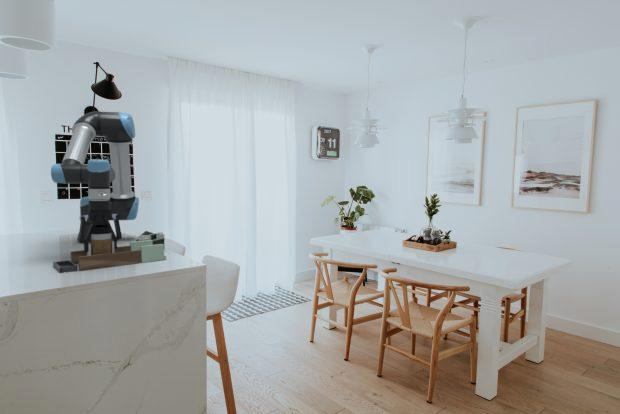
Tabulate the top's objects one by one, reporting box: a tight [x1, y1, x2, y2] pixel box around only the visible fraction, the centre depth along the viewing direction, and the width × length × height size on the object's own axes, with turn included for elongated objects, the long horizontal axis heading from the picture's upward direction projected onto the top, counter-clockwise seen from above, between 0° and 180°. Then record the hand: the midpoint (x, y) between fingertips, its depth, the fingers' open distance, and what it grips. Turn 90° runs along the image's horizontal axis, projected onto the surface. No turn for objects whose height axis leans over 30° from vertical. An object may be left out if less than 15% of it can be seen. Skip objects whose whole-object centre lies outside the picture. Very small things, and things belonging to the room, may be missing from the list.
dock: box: [129, 240, 167, 264], centre depth 169 cm, size 13×10×6 cm
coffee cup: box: [90, 225, 113, 255], centre depth 157 cm, size 8×8×15 cm
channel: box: [70, 245, 142, 272], centre depth 159 cm, size 13×22×5 cm, turn 132°
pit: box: [52, 259, 79, 274], centre depth 150 cm, size 12×6×2 cm, turn 42°
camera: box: [134, 230, 166, 250], centre depth 183 cm, size 16×9×10 cm, turn 163°
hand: (101, 258), depth 158 cm, fingers closed on coffee cup, 7 cm apart
